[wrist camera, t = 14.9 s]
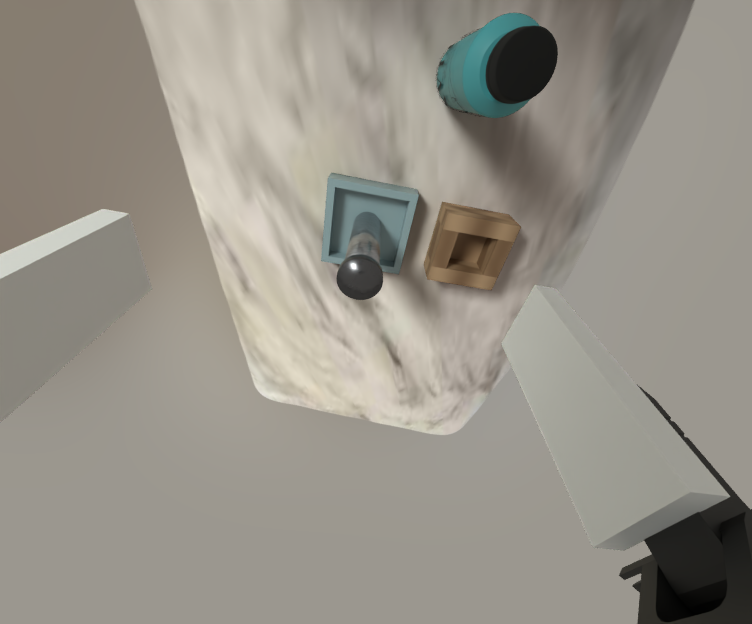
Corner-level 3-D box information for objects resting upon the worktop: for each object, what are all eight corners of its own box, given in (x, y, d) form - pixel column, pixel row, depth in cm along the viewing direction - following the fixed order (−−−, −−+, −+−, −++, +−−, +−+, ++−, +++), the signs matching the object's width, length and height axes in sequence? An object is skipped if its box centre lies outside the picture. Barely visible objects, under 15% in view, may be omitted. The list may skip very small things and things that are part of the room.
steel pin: (348, 237, 46) (334, 295, 33) (353, 206, 44) (339, 255, 30) (380, 243, 47) (378, 303, 34) (386, 212, 44) (386, 264, 31)
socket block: (423, 264, 50) (427, 279, 46) (442, 201, 44) (448, 213, 40) (482, 274, 50) (491, 290, 46) (508, 214, 45) (521, 226, 41)
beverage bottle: (440, 35, 34) (492, -18, 17) (499, 45, 34) (605, 1, 18) (427, 106, 37) (460, 117, 21) (480, 114, 38) (553, 131, 21)
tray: (324, 252, 49) (321, 260, 46) (331, 172, 42) (328, 177, 40) (398, 265, 50) (398, 274, 47) (416, 189, 43) (418, 195, 41)
